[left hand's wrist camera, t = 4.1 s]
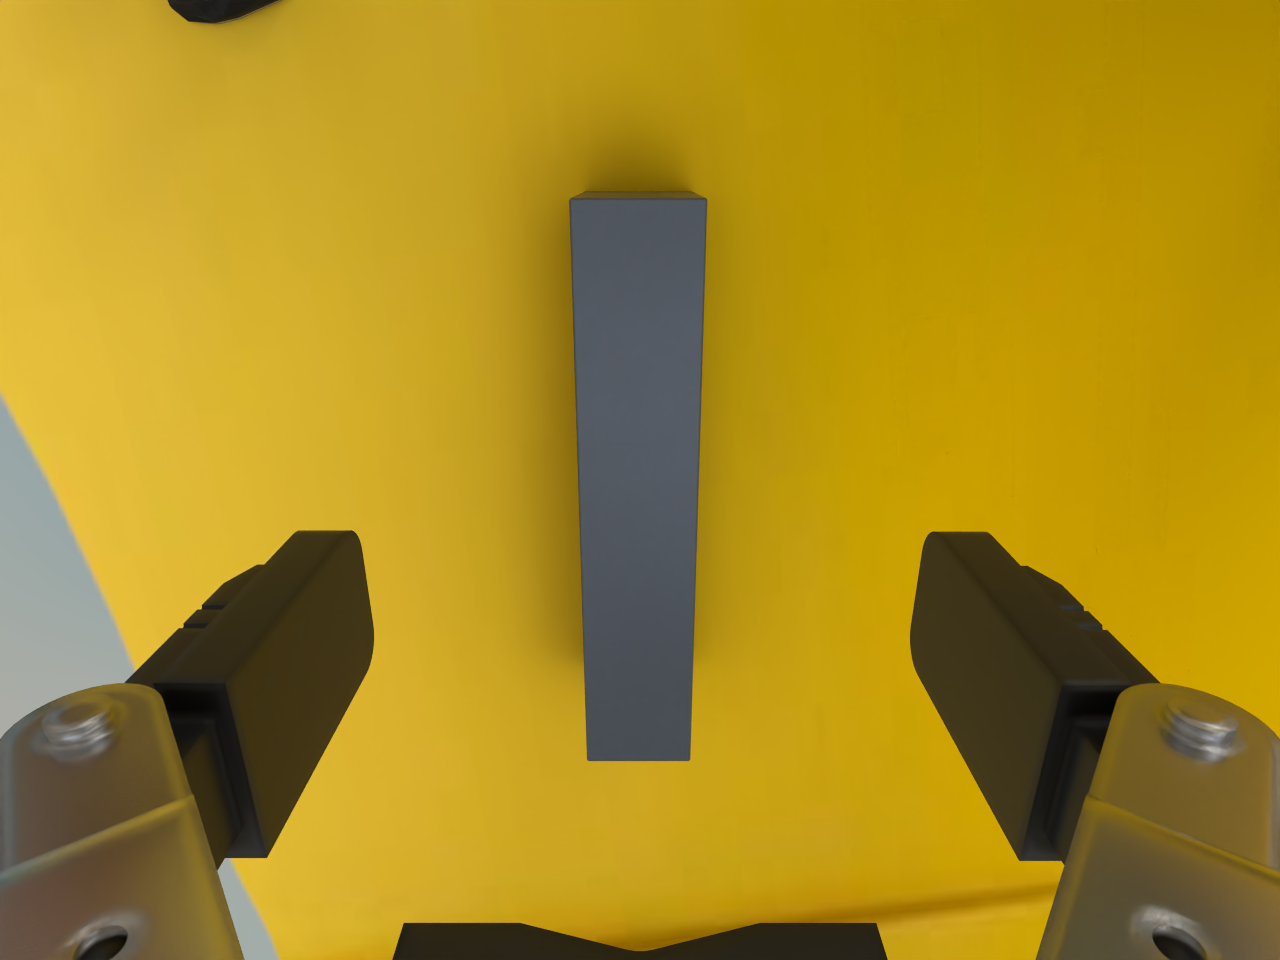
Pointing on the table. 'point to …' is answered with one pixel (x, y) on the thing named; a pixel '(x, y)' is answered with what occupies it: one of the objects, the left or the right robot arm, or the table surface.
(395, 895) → the table surface
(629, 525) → the bar
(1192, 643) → the table surface
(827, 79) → the table surface
